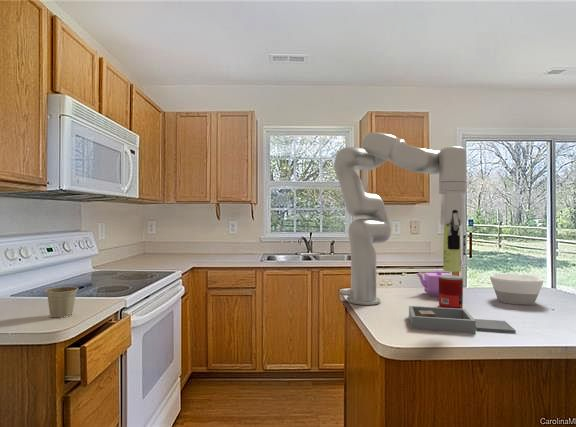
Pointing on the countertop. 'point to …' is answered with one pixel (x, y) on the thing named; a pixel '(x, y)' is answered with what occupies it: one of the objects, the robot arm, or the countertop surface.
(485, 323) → the trivet
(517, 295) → the bowl
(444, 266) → the tube
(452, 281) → the canned food
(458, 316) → the bin
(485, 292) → the countertop surface
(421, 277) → the teapot
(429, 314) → the walnut block
